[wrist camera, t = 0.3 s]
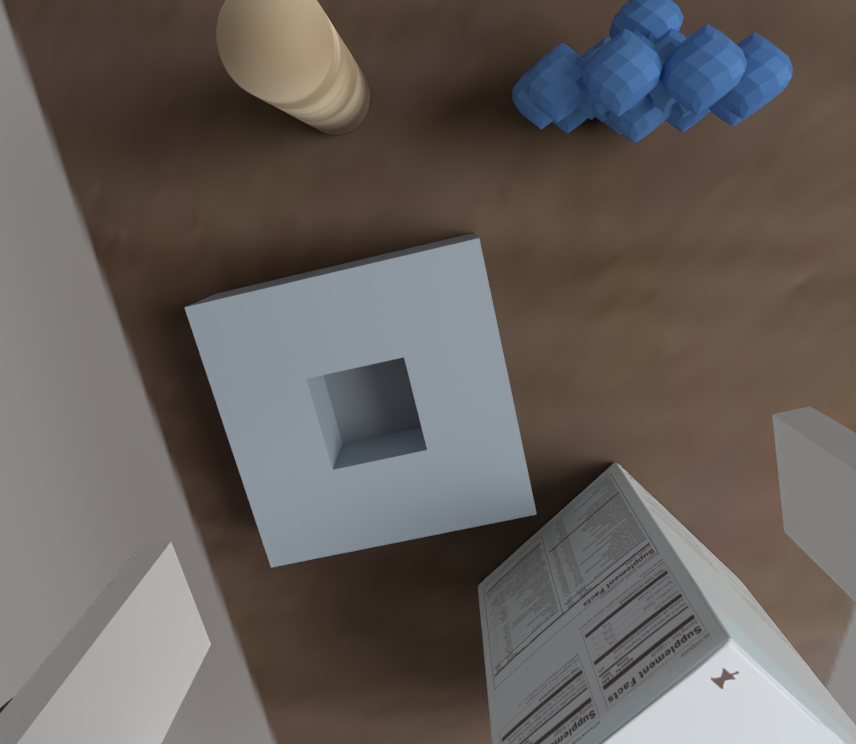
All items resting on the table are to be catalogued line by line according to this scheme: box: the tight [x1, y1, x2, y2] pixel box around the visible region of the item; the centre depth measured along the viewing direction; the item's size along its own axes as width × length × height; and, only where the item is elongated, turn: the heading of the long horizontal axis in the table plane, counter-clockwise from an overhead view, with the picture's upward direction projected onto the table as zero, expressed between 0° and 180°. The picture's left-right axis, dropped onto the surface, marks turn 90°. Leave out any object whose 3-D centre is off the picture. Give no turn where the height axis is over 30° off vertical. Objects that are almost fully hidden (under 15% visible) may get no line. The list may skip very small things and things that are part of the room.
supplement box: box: [478, 463, 856, 744], centre depth 36 cm, size 13×13×18 cm
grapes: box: [512, 0, 793, 143], centre depth 30 cm, size 12×7×12 cm, turn 89°
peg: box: [216, 0, 371, 135], centre depth 29 cm, size 4×4×14 cm
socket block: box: [184, 233, 537, 567], centre depth 38 cm, size 16×16×5 cm
